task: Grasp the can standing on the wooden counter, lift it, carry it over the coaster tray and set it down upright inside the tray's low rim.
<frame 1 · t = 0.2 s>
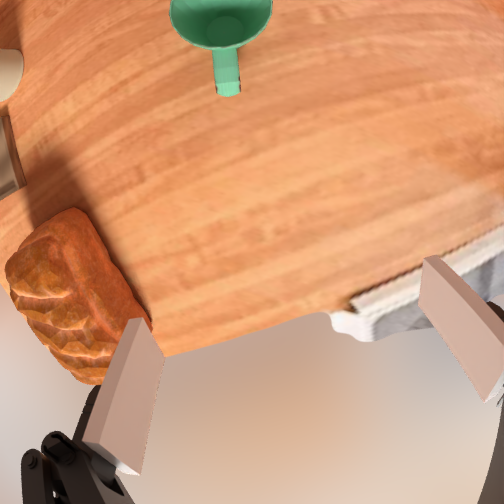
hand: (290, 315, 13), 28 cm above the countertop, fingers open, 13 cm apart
mug: (227, 48, 30), on the countertop
can: (6, 75, 26), on the countertop
bread: (94, 282, 44), on the countertop
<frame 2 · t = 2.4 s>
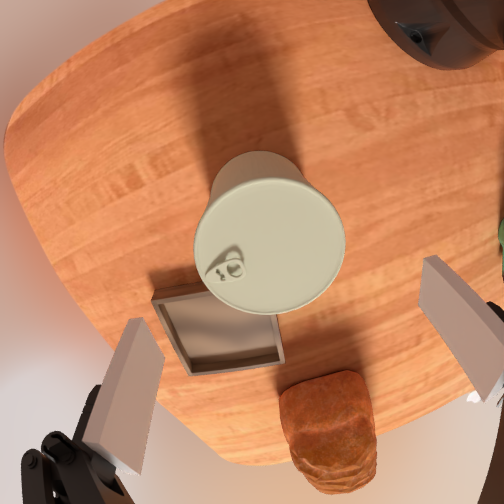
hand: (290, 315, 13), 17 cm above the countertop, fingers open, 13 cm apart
mug: (503, 243, 31), on the countertop
can: (259, 198, 28), on the countertop
tray: (223, 324, 34), on the countertop
bread: (328, 413, 45), on the countertop
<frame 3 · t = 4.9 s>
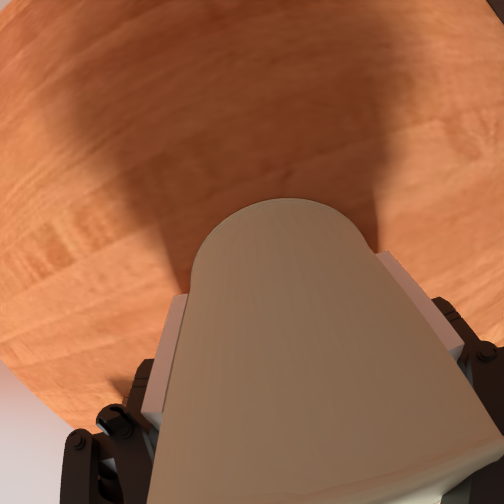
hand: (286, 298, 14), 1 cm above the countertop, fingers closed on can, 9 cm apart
can: (283, 285, 15), on the countertop, touching gripper
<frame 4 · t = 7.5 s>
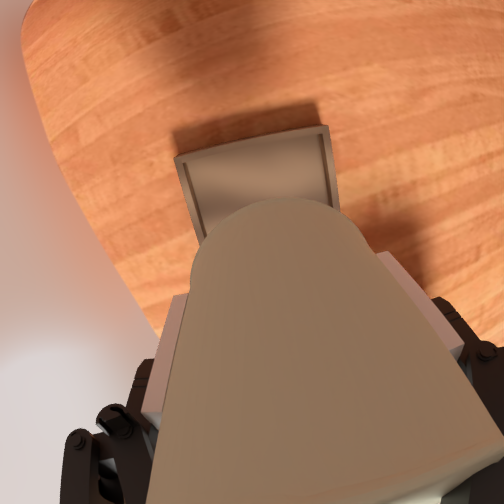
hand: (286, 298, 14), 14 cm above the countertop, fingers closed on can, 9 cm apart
can: (283, 284, 15), point 13 cm above the countertop, touching gripper
tray: (264, 205, 26), on the countertop
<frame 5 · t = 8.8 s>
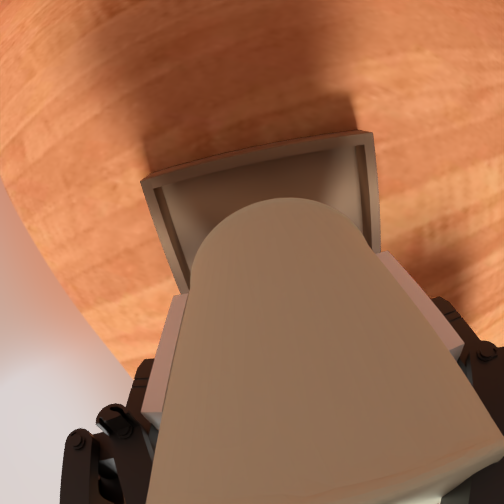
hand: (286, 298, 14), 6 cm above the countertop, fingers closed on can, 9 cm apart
can: (283, 285, 15), point 5 cm above the countertop, touching gripper
tray: (275, 244, 19), on the countertop
when the fingers open (4 cm above the countertop, at t = 10.0 s): can drops 3 cm, resting on tray.
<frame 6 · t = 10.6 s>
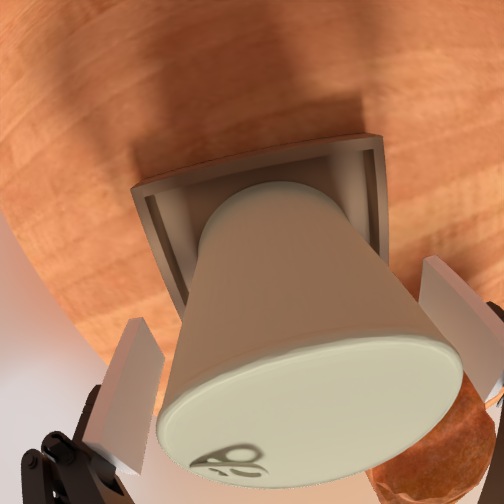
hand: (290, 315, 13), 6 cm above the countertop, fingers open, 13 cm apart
can: (277, 257, 17), resting on tray
tray: (276, 255, 18), on the countertop
bread: (404, 412, 29), on the countertop
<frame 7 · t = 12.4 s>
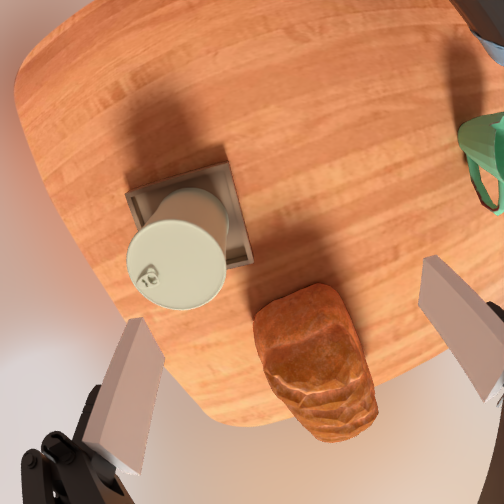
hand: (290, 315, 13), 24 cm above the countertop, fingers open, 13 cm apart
mug: (466, 152, 33), on the countertop
can: (191, 223, 36), resting on tray
tray: (191, 222, 36), on the countertop
bread: (315, 347, 47), on the countertop
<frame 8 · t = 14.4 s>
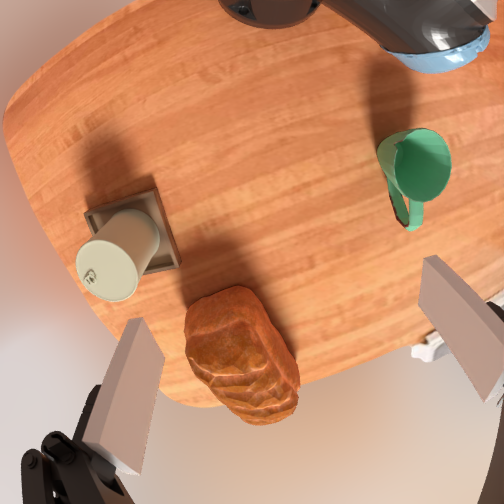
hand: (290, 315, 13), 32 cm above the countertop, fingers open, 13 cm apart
mug: (389, 168, 41), on the countertop
can: (133, 235, 44), resting on tray
tray: (133, 234, 44), on the countertop
bread: (246, 340, 55), on the countertop
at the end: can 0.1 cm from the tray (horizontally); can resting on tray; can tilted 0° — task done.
